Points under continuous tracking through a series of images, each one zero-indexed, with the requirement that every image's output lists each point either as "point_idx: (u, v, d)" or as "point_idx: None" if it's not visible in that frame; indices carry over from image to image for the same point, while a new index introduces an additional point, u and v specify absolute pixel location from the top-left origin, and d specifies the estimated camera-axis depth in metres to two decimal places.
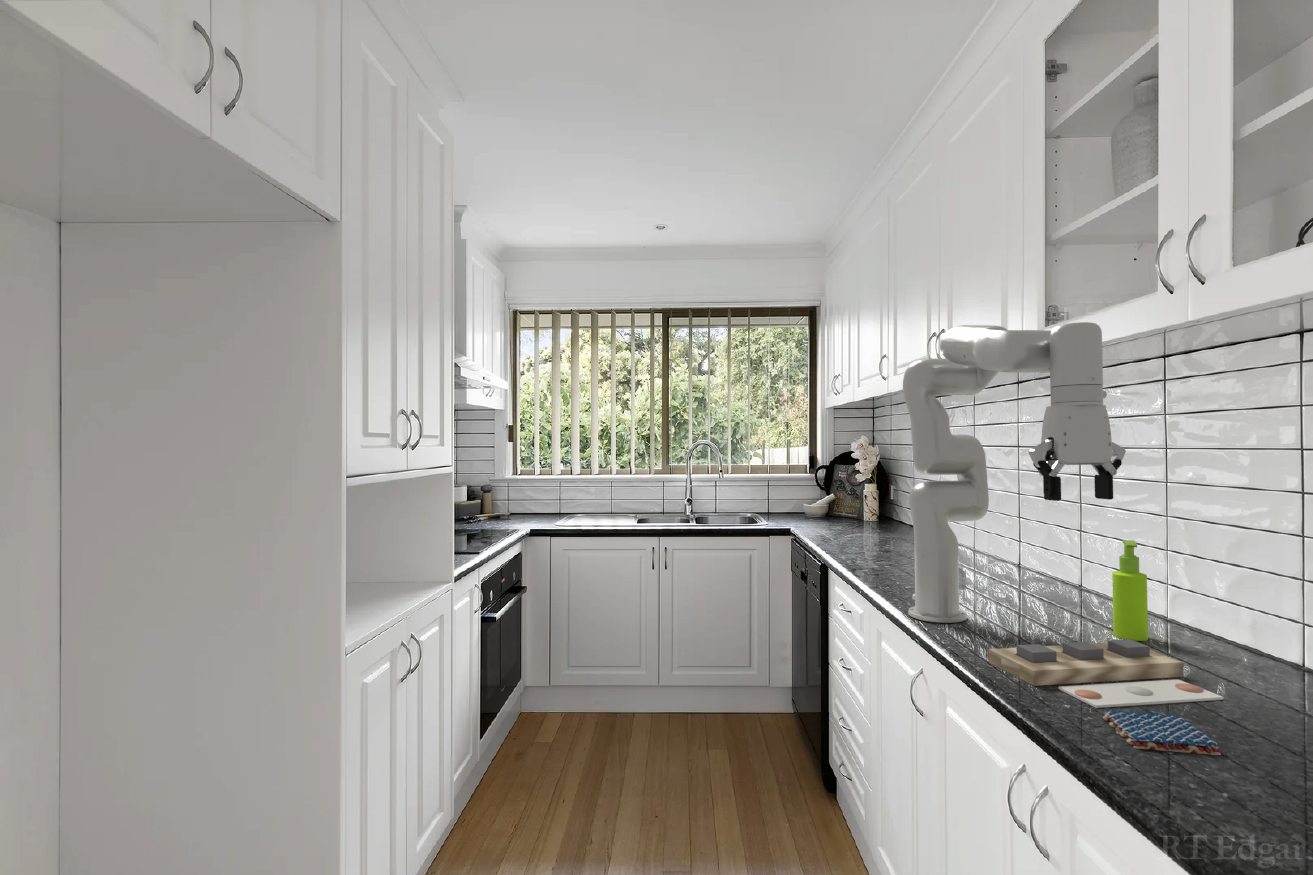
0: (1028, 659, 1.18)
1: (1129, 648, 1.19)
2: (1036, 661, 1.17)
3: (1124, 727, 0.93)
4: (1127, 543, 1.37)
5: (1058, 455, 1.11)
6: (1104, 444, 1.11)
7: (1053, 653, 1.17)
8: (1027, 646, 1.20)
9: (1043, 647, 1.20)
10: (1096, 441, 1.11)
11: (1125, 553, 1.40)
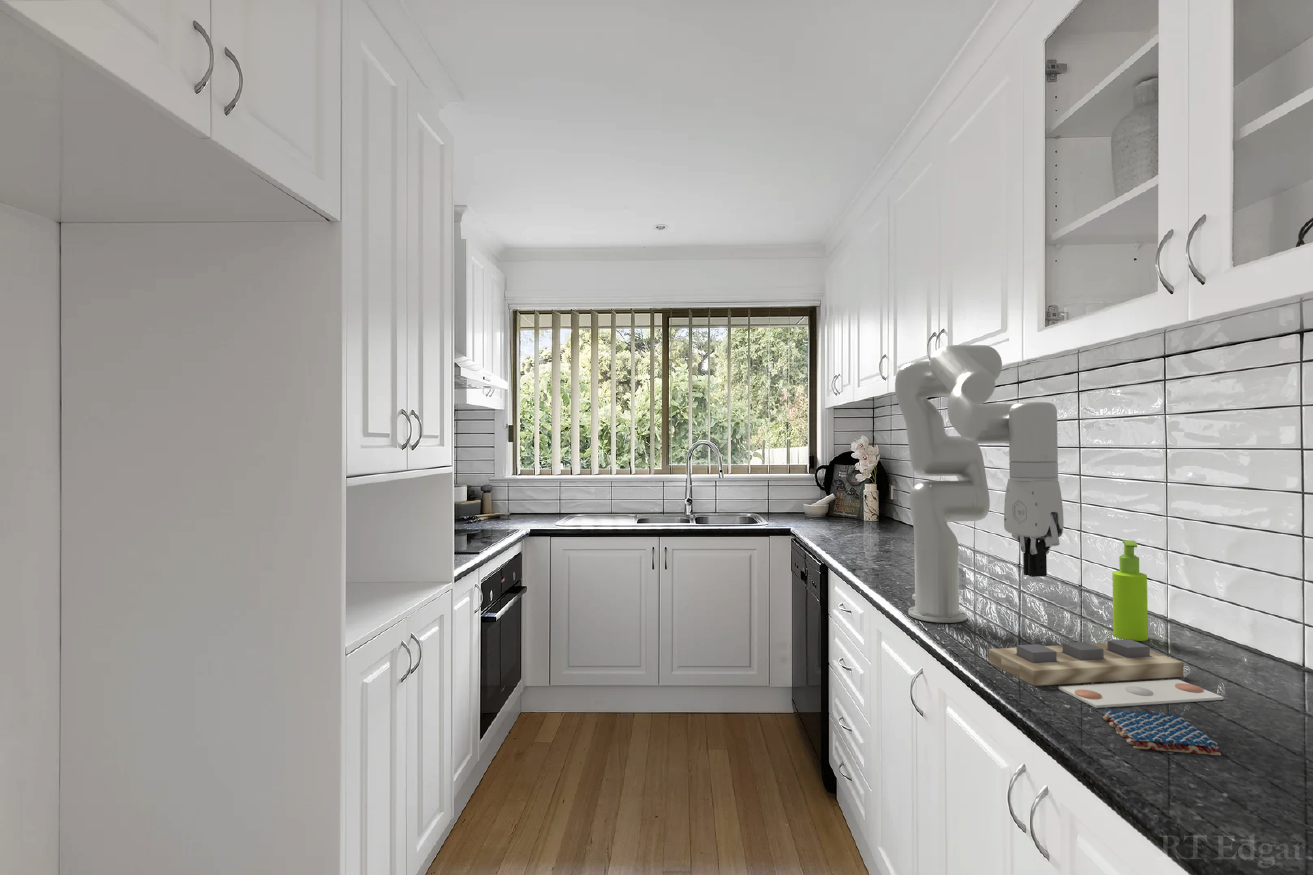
0: (1028, 659, 1.18)
1: (1129, 648, 1.19)
2: (1036, 661, 1.17)
3: (1124, 727, 0.93)
4: (1127, 543, 1.37)
5: (1062, 529, 1.15)
6: None
7: (1053, 653, 1.17)
8: (1027, 646, 1.20)
9: (1043, 647, 1.20)
10: None
11: (1125, 553, 1.40)
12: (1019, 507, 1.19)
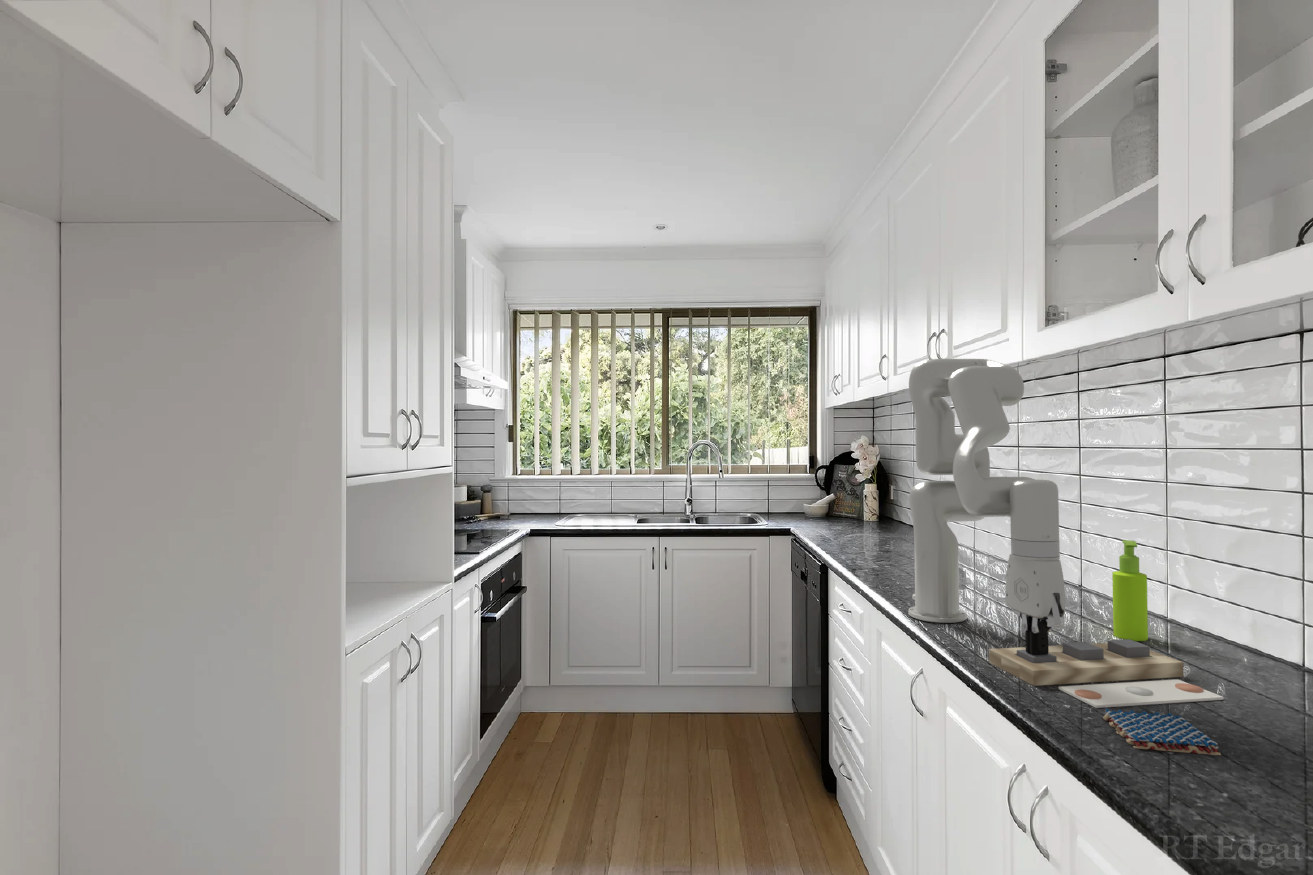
0: None
1: (1129, 648, 1.19)
2: None
3: (1124, 727, 0.93)
4: (1127, 543, 1.37)
5: (1064, 610, 1.14)
6: None
7: (1053, 658, 1.17)
8: None
9: None
10: None
11: (1125, 553, 1.40)
12: (1020, 584, 1.19)
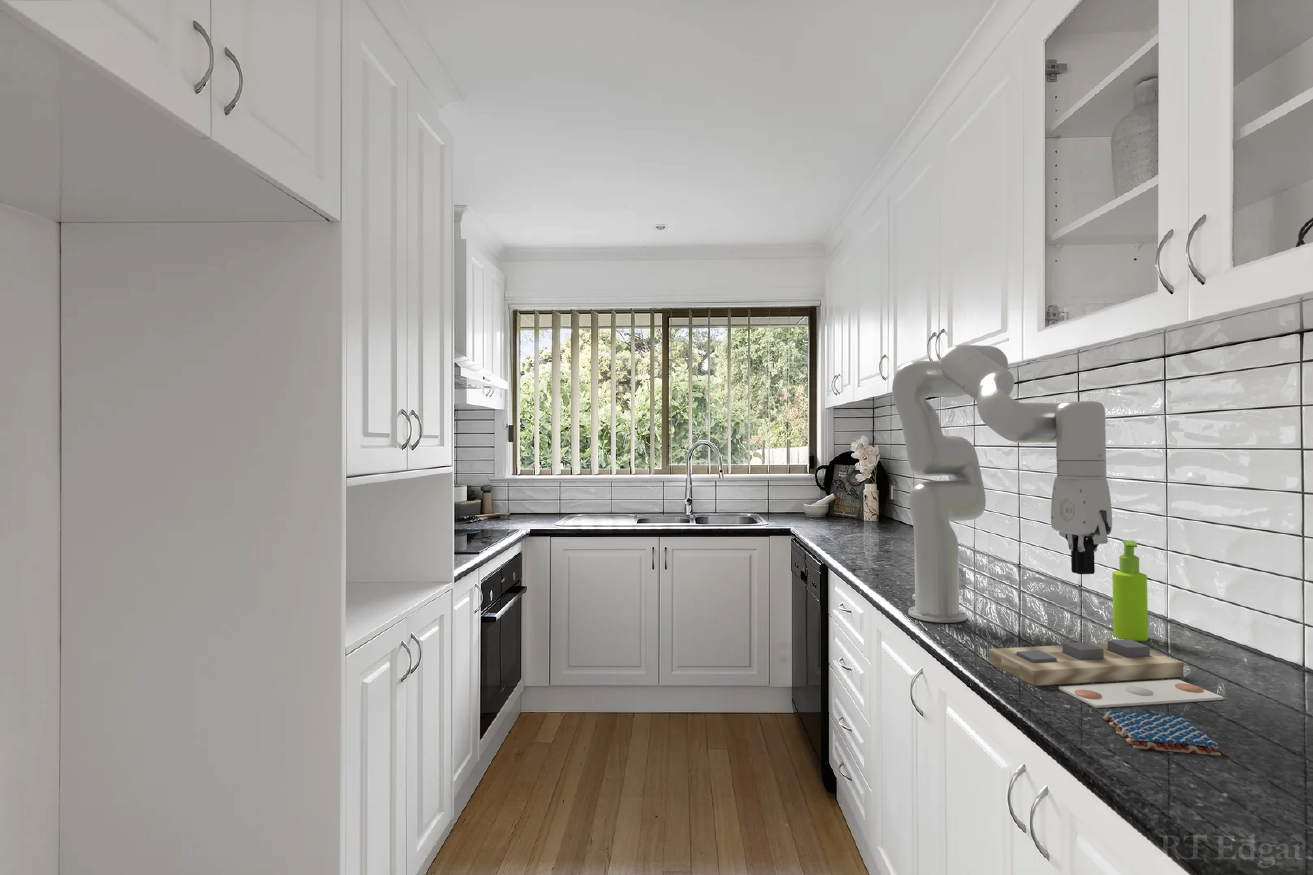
0: None
1: (1129, 648, 1.19)
2: None
3: (1124, 727, 0.93)
4: (1127, 543, 1.37)
5: (1111, 527, 1.16)
6: None
7: (1053, 660, 1.17)
8: (1027, 652, 1.20)
9: (1043, 653, 1.20)
10: None
11: (1125, 553, 1.40)
12: (1066, 505, 1.20)
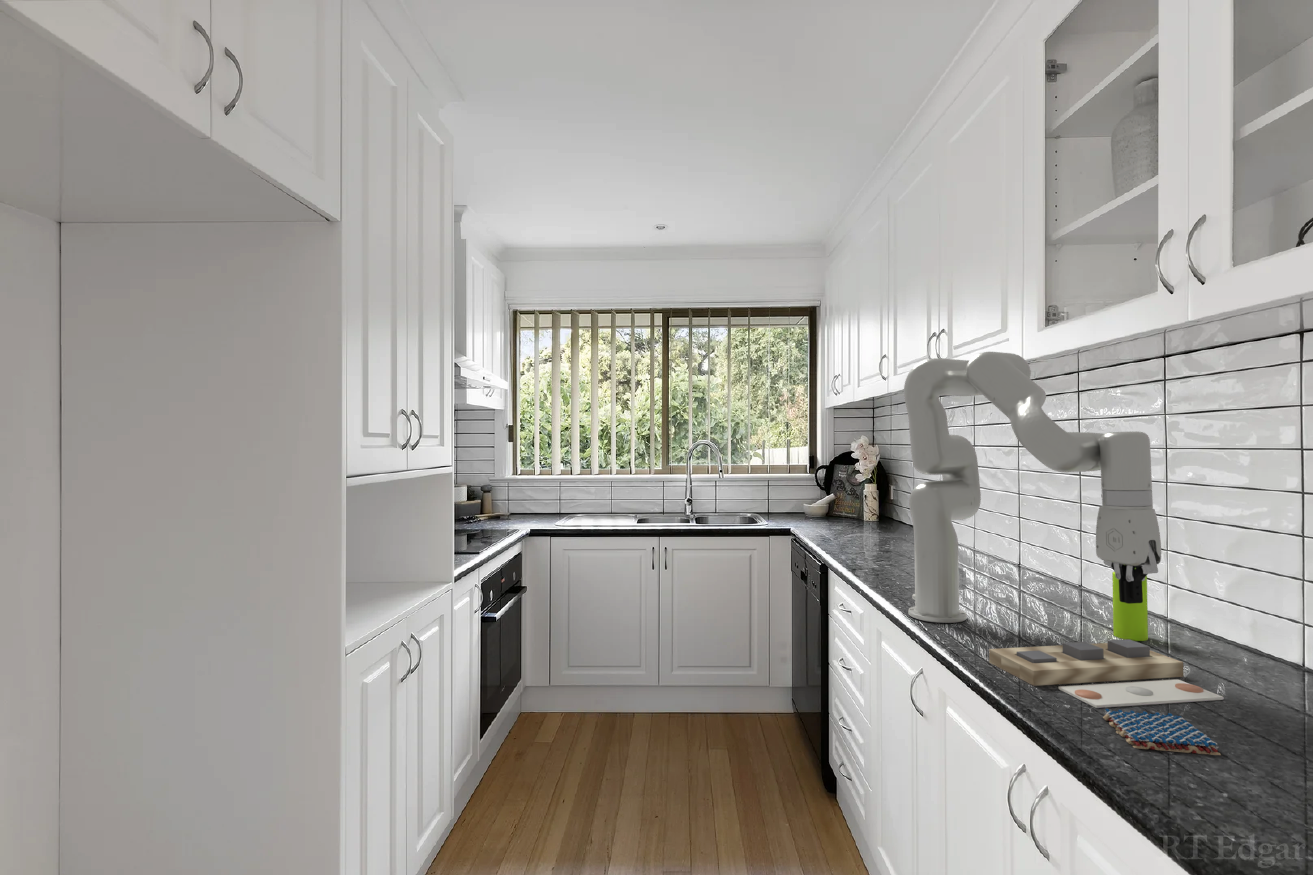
0: None
1: (1129, 648, 1.19)
2: None
3: (1124, 727, 0.93)
4: None
5: (1160, 557, 1.17)
6: None
7: (1053, 660, 1.17)
8: (1027, 652, 1.20)
9: (1043, 653, 1.20)
10: None
11: None
12: (1113, 534, 1.21)
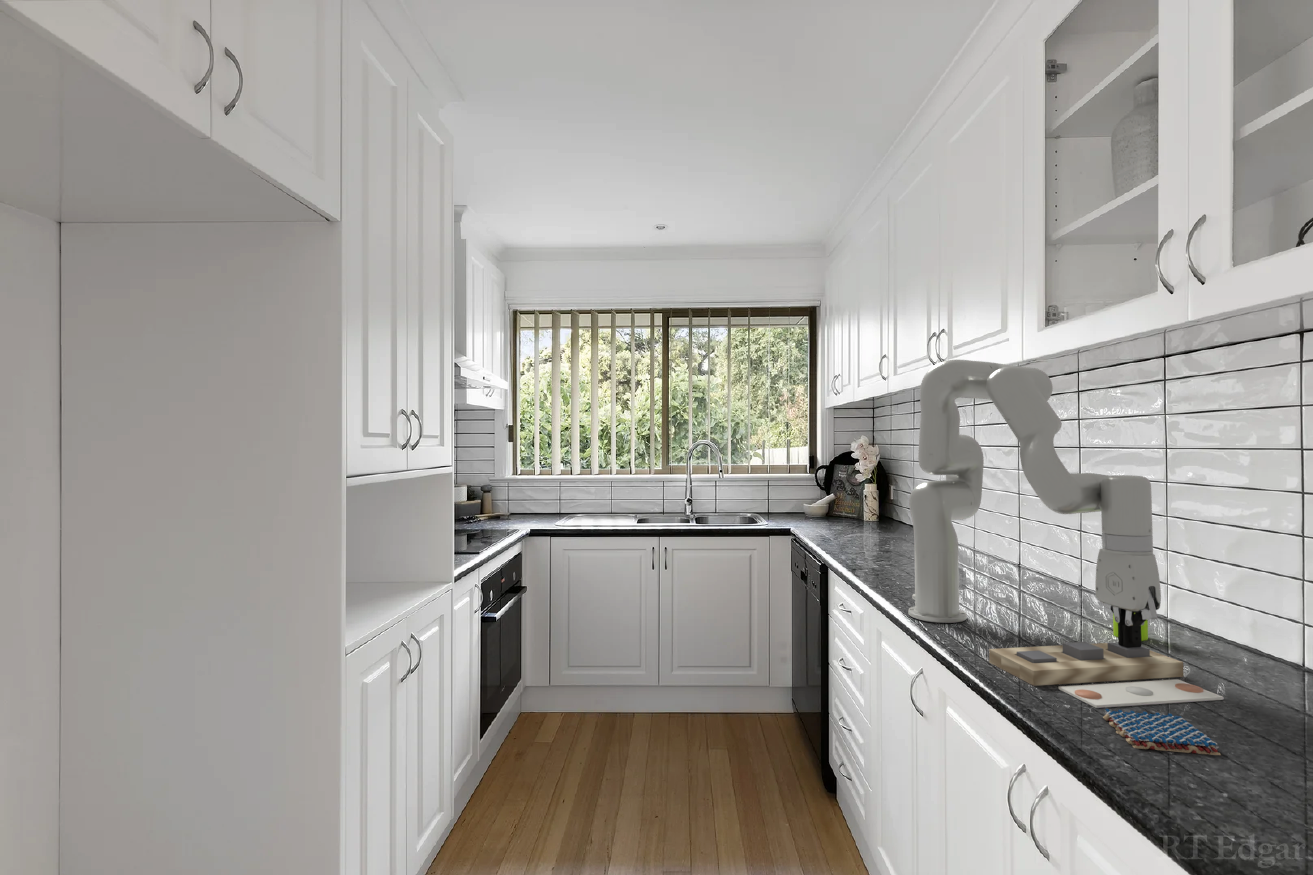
0: None
1: (1129, 650, 1.19)
2: None
3: (1124, 727, 0.93)
4: None
5: (1160, 603, 1.17)
6: None
7: (1053, 660, 1.17)
8: (1027, 652, 1.20)
9: (1043, 653, 1.20)
10: None
11: None
12: (1113, 578, 1.21)
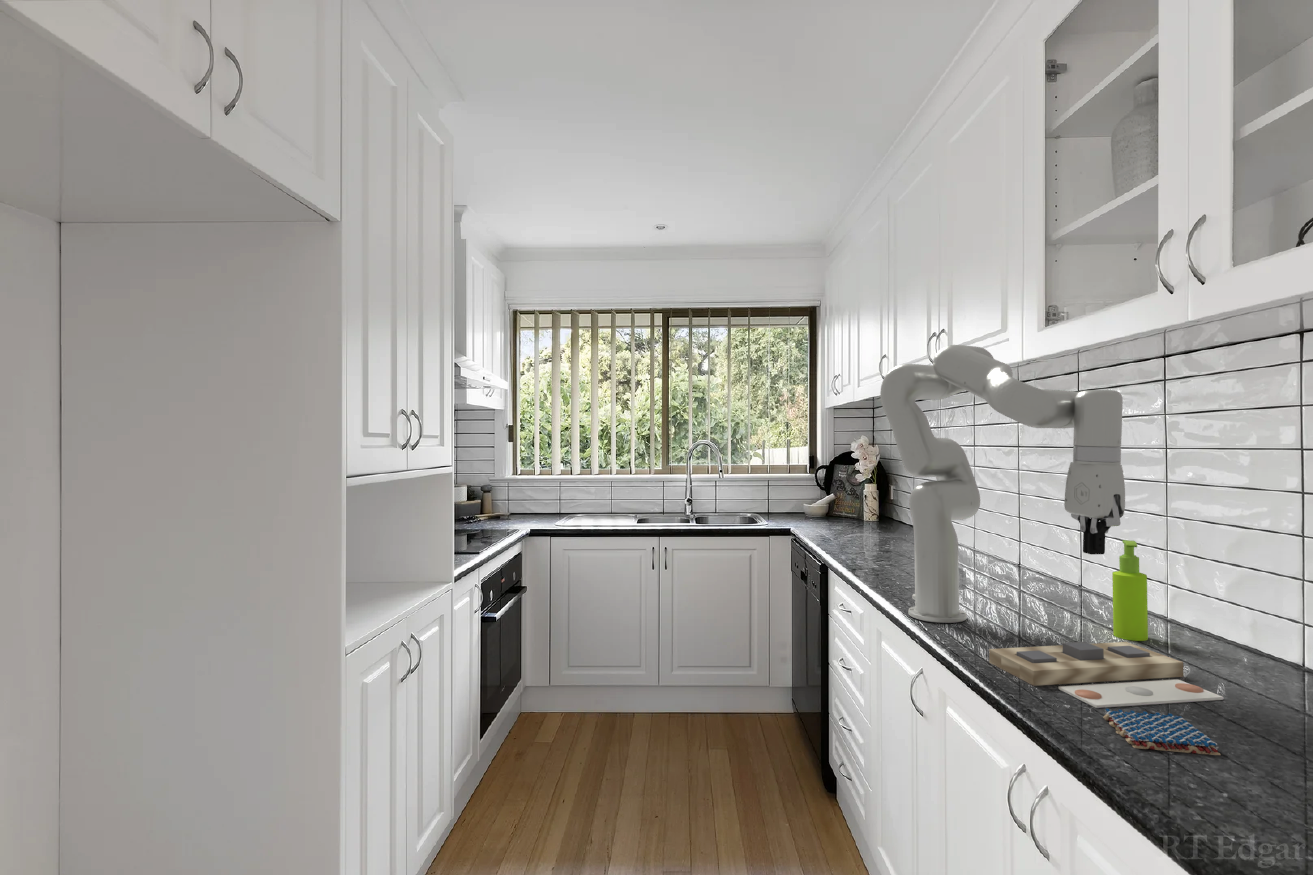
0: None
1: (1129, 654, 1.19)
2: None
3: (1124, 727, 0.93)
4: (1127, 543, 1.37)
5: (1124, 510, 1.22)
6: None
7: (1053, 660, 1.17)
8: (1027, 652, 1.20)
9: (1043, 653, 1.20)
10: None
11: (1125, 553, 1.40)
12: (1081, 488, 1.26)
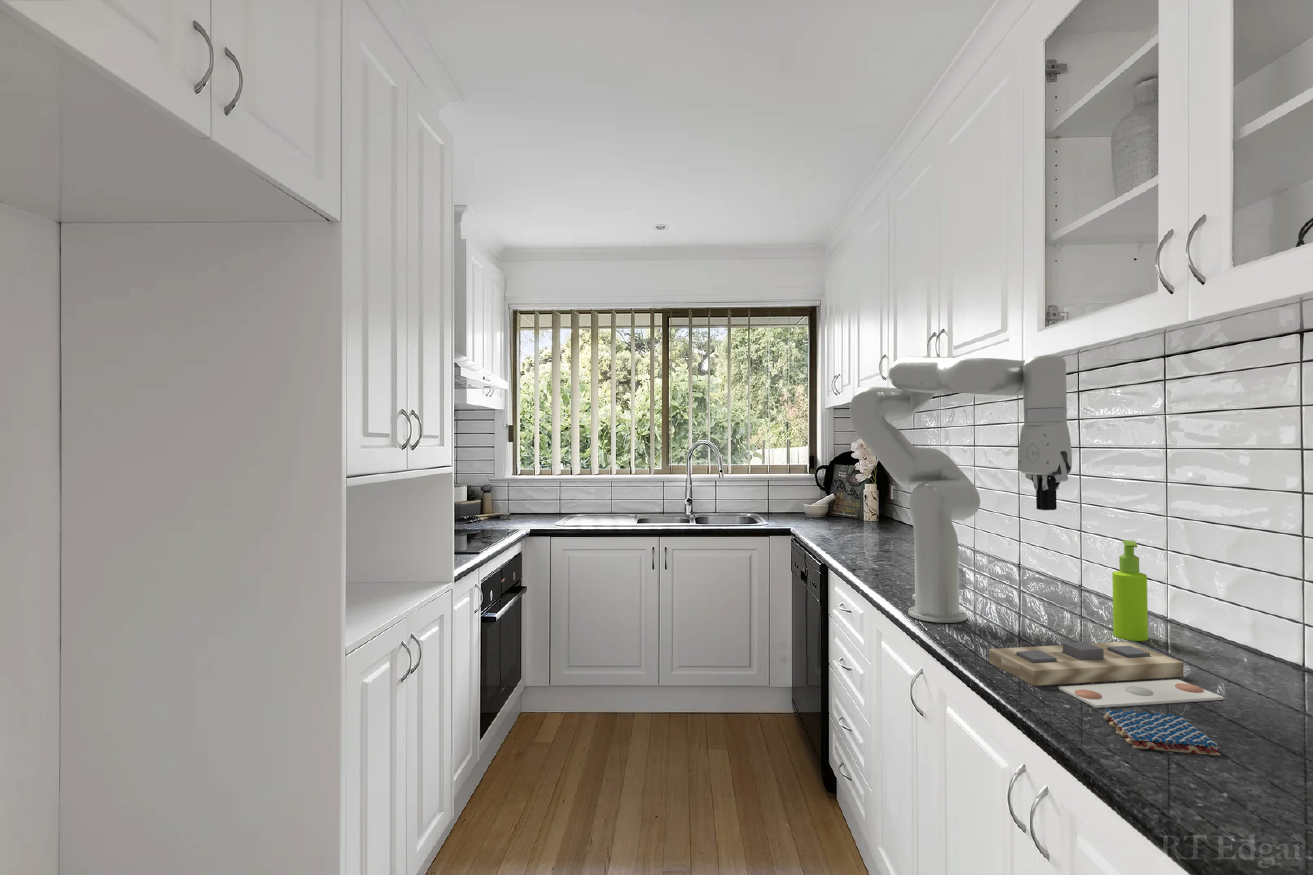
0: None
1: (1129, 654, 1.19)
2: None
3: (1124, 726, 0.93)
4: (1127, 543, 1.37)
5: (1071, 466, 1.30)
6: None
7: (1053, 660, 1.17)
8: (1027, 652, 1.20)
9: (1043, 653, 1.20)
10: None
11: (1125, 553, 1.40)
12: (1032, 449, 1.35)
